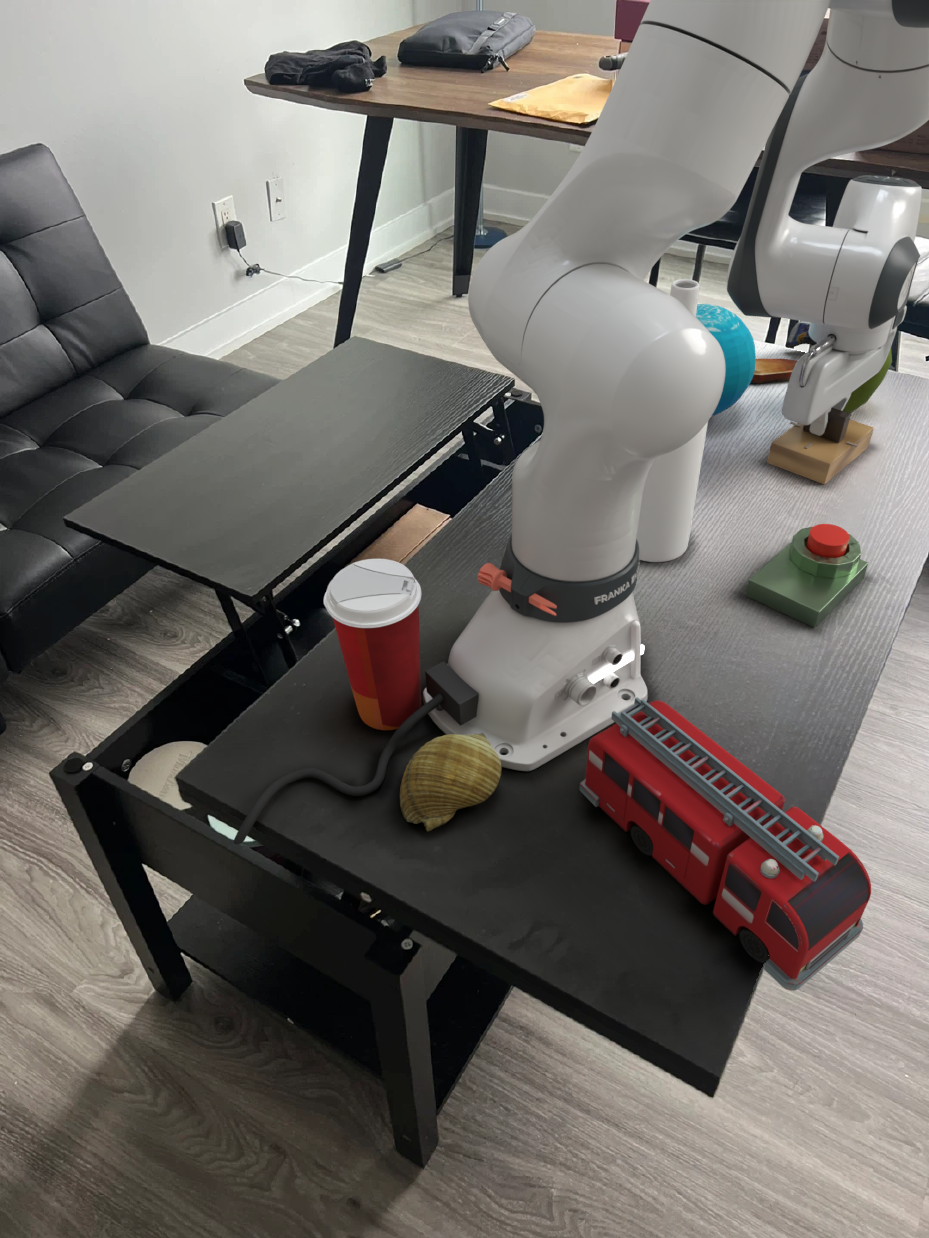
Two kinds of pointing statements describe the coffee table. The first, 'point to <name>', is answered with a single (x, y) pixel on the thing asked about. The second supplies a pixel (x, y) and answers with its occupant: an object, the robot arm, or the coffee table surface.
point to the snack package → (800, 335)
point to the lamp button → (827, 540)
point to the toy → (729, 840)
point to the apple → (867, 388)
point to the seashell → (448, 778)
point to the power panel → (818, 451)
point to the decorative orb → (730, 351)
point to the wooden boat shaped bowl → (772, 370)
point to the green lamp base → (807, 580)
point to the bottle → (671, 479)
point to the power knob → (834, 425)
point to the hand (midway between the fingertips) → (823, 427)
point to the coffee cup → (379, 638)
